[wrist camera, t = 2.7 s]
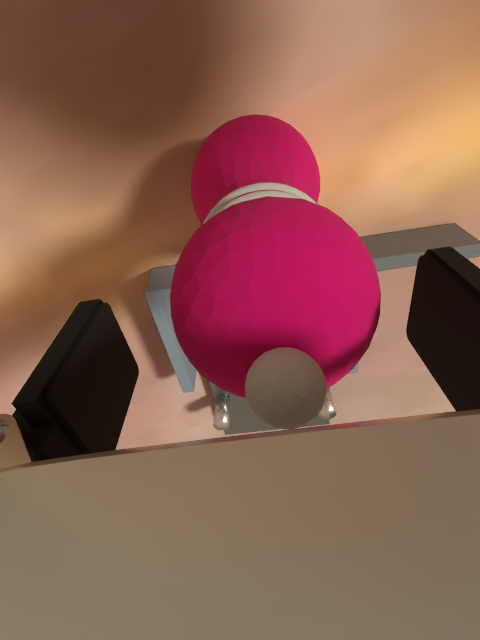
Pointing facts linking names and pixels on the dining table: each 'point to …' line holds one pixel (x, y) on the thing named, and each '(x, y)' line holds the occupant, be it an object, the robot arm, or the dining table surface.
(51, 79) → the dining table surface
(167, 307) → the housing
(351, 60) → the dining table surface
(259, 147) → the pepper mill
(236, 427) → the base plate
